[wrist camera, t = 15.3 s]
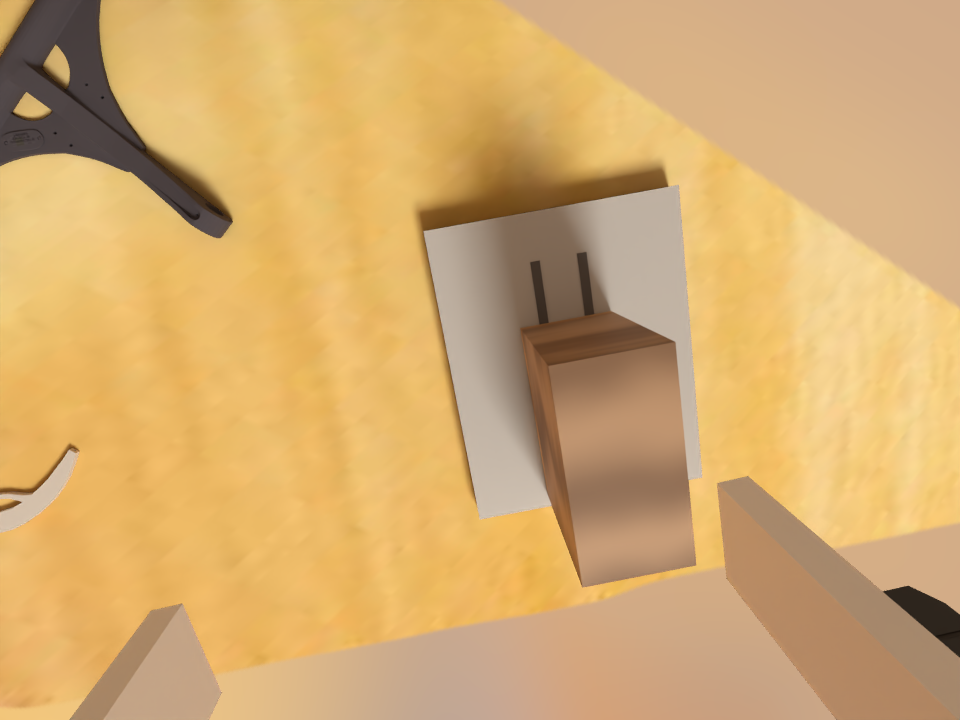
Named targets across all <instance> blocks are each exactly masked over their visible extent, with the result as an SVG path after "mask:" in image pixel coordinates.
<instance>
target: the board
mask: <svg viewBox="0 0 960 720" xmlns="http://www.w3.org/2000/svg"><path fill="white" fill-rule="evenodd" d="M423 232H424V237H425V242H426V247H427V252H428V257H429V262H430V268H431V273H432V278H433V283H434V288H435V293H436V298H437V303H438V308H439V313H440V319H441V324H442V329H443V334H444V339H445V344H446V349H447V354H448V359H449V364H450V369H451V375H452V380H453V385H454V390H455V395H456V400H457V405H458V410H459V415H460V420H461V426H462V431H463V436H464V441H465V446H466V451H467V456H468V461H469V466H470V471H471V476H472V482H473V487H474V492H475V497H476V502H477V507H478V512H479V517H480V519H485V518H490V517H496V516H501V515H506V514H511V513H517V512H522V511H527V510H533V509H538V508H543V507H548V506H552V505H551V502H550V500H549V497H548V494H547V488H546V482H545V476H544V470H543V464H542V458H541V452H540V446H539V440H538V434H537V427H536V421H535V415H534V409H533V403H532V397H531V391H530V385H529V379H528V373H527V367H526V361H525V355H524V349H523V343H522V337H521V331H520V328H524V327H529V326H534V325H540V324H545V323H550V322H556V321H561V320H566V319H571V318H577V317H582V316H587V315H593V314H598V313H603V312H608V311H612V312H614V313H616V314H619V315H621V316H623V317H625V318H627V319H629V320H631V321H633V322H635V323H637V324H639V325H641V326H643V327H646V328H648V329H650V330H652V331H654V332H656V333H658V334H660V335H662V336H664V337H666V338H668V339H670V340H673V341H675V342H676V353H677V363H678V374H679V385H680V396H681V406H682V417H683V428H684V439H685V449H686V460H687V471H688V480H691V479H697V478H702V468H701V455H700V443H699V431H698V418H697V406H696V393H695V381H694V368H693V356H692V344H691V331H690V319H689V306H688V294H687V281H686V269H685V257H684V244H683V232H682V219H681V207H680V194H679V185H676V186H670V187H665V188H659V189H654V190H648V191H643V192H637V193H632V194H626V195H621V196H615V197H610V198H604V199H599V200H593V201H588V202H582V203H577V204H571V205H566V206H560V207H555V208H549V209H544V210H538V211H532V212H527V213H521V214H516V215H510V216H505V217H499V218H494V219H488V220H483V221H477V222H472V223H466V224H461V225H455V226H450V227H444V228H439V229H433V230H428V231H423Z"/></svg>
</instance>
